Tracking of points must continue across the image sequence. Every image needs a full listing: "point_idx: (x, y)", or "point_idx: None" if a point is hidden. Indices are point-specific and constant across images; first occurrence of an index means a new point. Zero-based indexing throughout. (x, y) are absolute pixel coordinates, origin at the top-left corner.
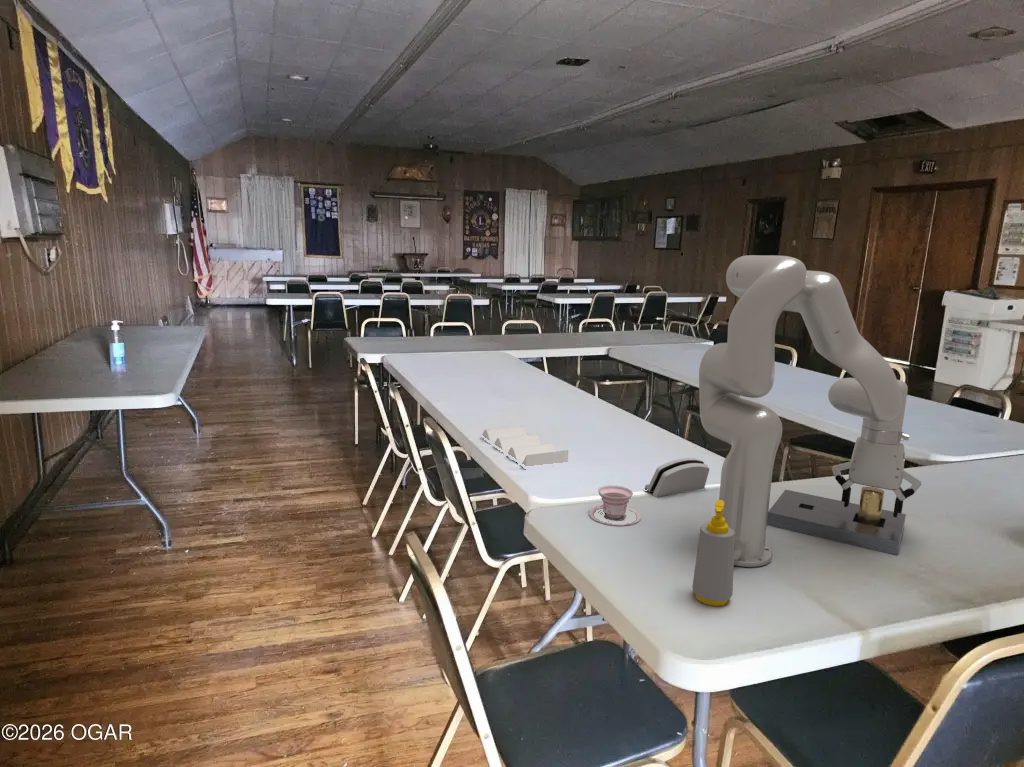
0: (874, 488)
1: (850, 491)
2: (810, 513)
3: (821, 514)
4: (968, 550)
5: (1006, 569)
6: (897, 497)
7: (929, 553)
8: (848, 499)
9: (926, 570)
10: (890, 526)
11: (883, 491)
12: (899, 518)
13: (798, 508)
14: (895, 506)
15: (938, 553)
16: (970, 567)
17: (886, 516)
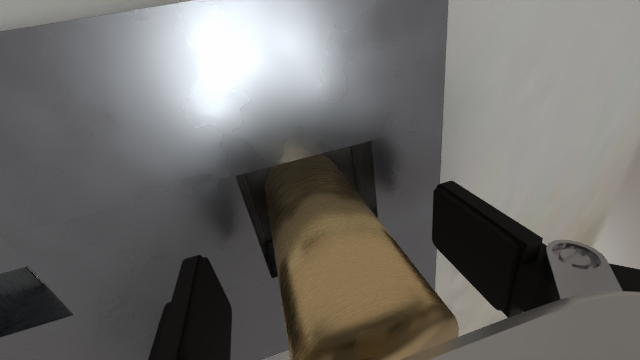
0: (384, 326)
1: (202, 349)
2: (105, 346)
3: (144, 320)
4: (586, 66)
5: (630, 132)
6: (525, 311)
7: (479, 188)
8: (229, 347)
9: (466, 281)
10: (400, 210)
11: (453, 326)
12: (423, 77)
13: (17, 348)
14: (474, 281)
15: (500, 167)
16: (554, 191)
17: (367, 101)
